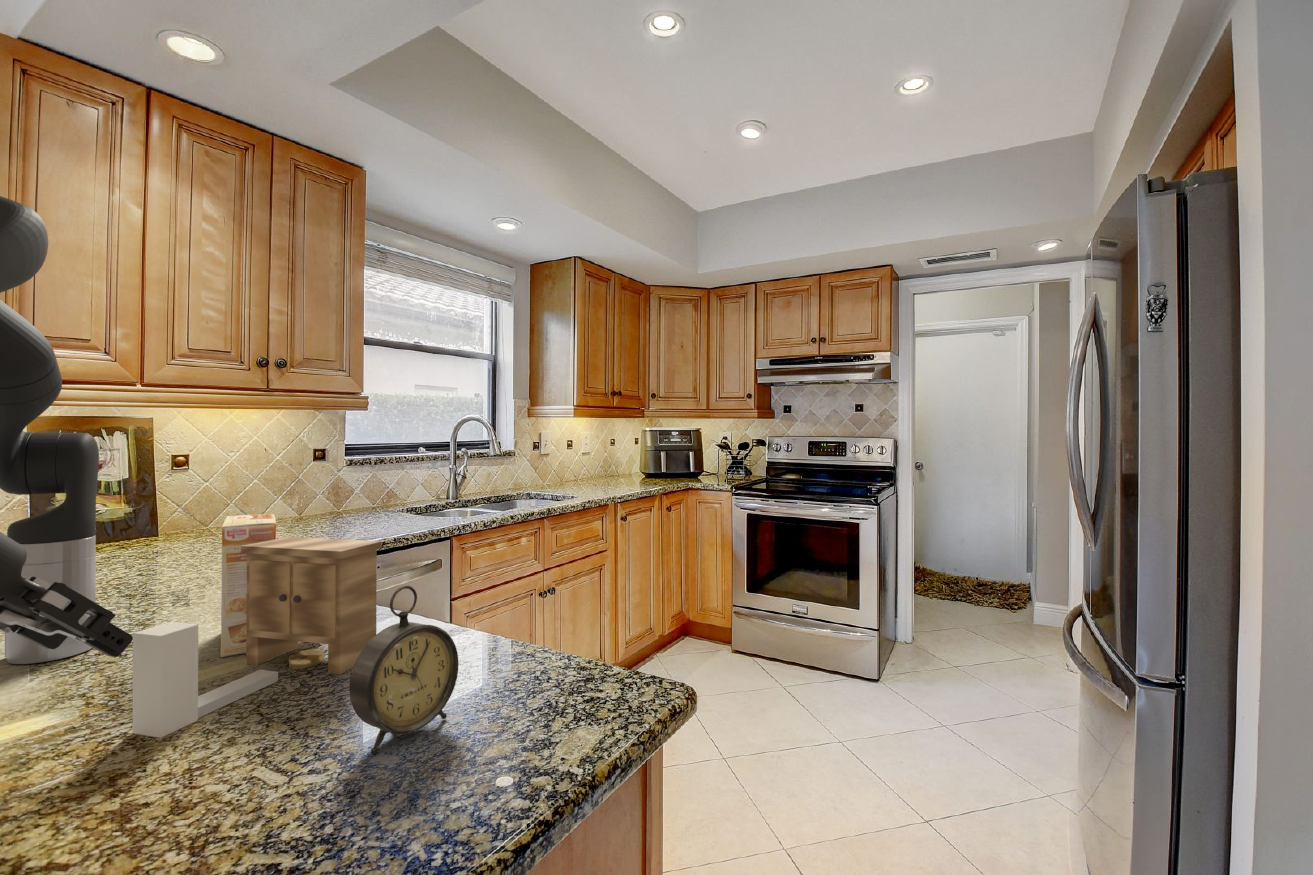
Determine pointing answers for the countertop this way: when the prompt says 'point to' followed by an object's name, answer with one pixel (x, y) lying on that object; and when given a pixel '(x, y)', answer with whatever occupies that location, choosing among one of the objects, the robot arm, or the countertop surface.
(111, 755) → the countertop surface
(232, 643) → the coffeecake box
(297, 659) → the token
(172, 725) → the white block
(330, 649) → the cabinet
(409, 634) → the alarm clock
